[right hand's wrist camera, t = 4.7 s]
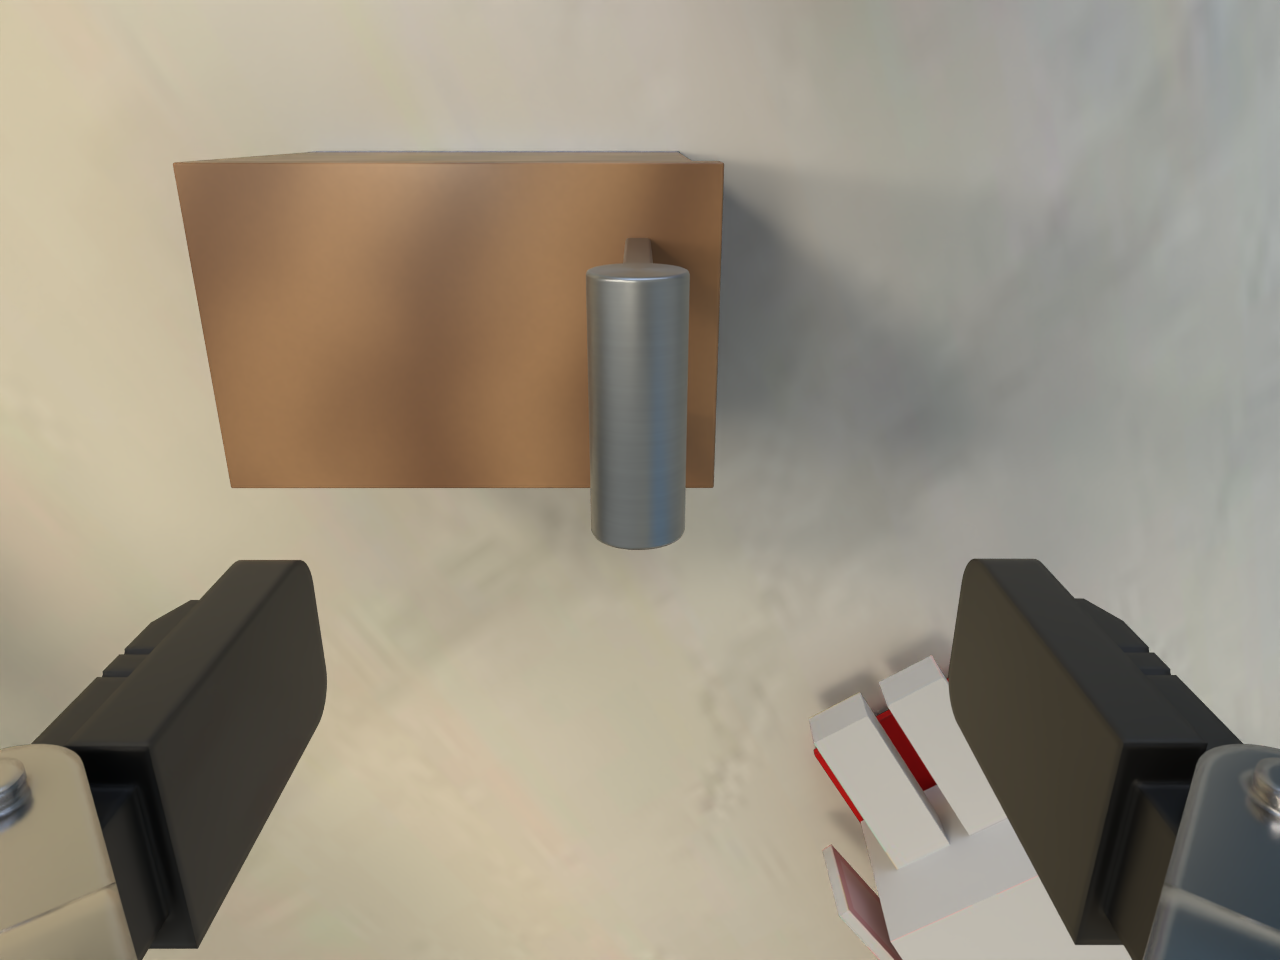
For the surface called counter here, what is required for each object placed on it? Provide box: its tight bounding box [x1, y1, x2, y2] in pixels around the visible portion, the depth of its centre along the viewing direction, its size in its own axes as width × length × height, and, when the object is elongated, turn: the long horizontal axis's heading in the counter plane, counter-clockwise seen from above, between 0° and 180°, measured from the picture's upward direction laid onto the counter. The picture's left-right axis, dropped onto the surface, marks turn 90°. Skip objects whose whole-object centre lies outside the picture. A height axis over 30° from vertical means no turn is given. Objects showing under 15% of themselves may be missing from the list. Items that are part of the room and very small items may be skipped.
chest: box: [202, 151, 691, 161], centre depth 32 cm, size 14×10×11 cm
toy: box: [809, 655, 1132, 960], centre depth 44 cm, size 12×13×30 cm
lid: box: [173, 161, 724, 550], centre depth 23 cm, size 15×10×9 cm, turn 90°
